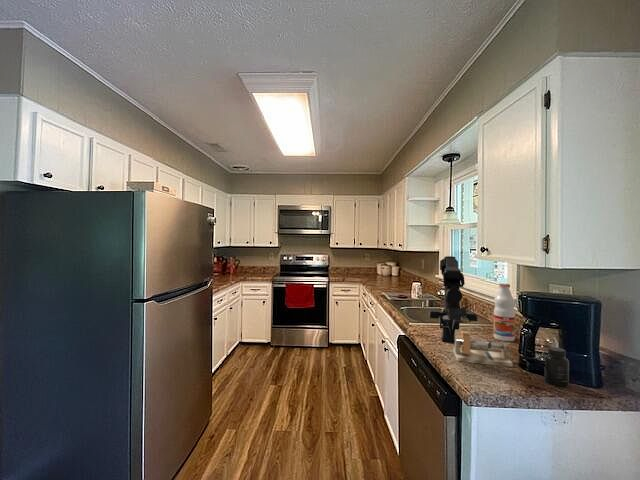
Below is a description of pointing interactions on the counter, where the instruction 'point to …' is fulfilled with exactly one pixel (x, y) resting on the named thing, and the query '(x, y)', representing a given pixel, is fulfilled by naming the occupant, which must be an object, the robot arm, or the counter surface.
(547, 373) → the supplement bottle
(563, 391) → the counter surface
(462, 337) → the slotted orange block
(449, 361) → the counter surface
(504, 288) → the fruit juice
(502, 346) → the pipe
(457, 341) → the stand
